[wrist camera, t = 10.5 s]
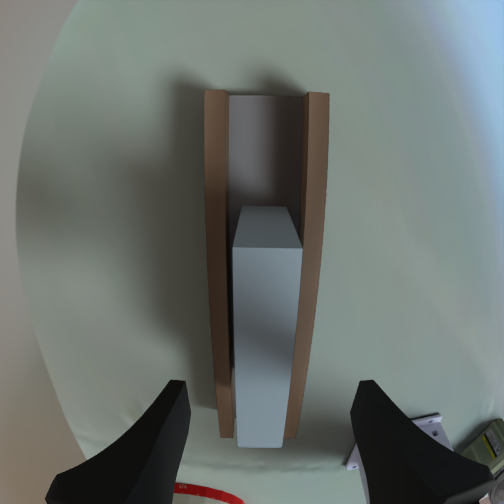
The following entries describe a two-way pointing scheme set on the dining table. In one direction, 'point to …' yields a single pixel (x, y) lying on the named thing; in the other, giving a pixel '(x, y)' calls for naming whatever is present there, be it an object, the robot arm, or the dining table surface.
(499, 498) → the decorative orb
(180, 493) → the kitchen timer
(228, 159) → the floor track
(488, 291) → the dining table surface
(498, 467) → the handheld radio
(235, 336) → the door panel
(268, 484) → the dining table surface
